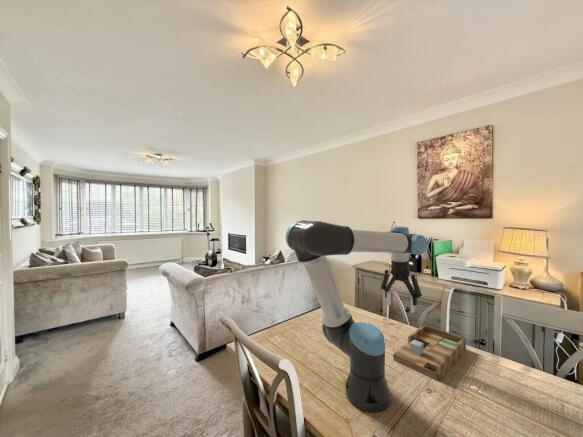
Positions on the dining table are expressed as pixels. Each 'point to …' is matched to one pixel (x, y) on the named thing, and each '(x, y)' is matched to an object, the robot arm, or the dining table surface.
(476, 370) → the dining table surface
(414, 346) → the block
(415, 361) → the box
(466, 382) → the dining table surface
